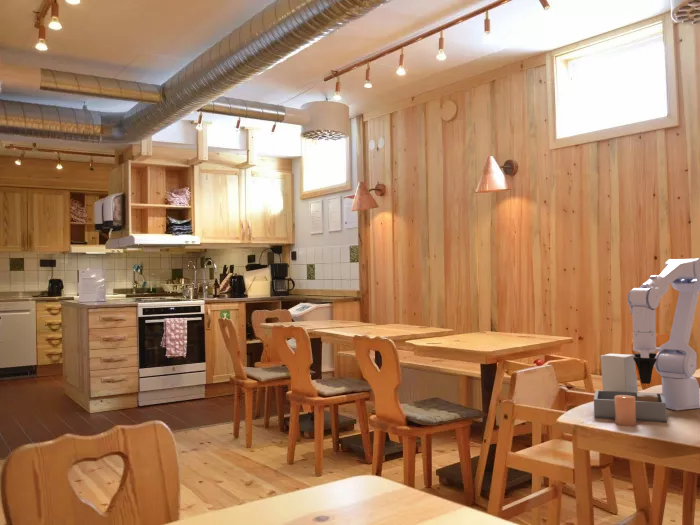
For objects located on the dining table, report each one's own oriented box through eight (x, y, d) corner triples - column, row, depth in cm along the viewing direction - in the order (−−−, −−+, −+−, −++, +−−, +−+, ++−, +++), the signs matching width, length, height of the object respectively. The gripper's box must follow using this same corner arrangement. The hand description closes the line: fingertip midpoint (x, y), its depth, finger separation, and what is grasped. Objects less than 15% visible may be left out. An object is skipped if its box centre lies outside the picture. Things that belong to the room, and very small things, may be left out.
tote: (663, 411, 175) (662, 393, 175) (666, 422, 163) (665, 403, 163) (596, 407, 182) (595, 390, 182) (594, 417, 170) (593, 399, 170)
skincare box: (639, 405, 184) (637, 354, 184) (627, 407, 181) (625, 356, 181) (613, 400, 191) (611, 352, 191) (601, 403, 188) (599, 354, 188)
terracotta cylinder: (626, 420, 166) (626, 394, 166) (640, 424, 161) (639, 397, 161) (611, 422, 164) (610, 395, 164) (624, 426, 159) (623, 399, 160)
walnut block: (637, 410, 174) (636, 392, 174) (657, 411, 172) (656, 393, 172) (638, 414, 169) (637, 396, 169) (658, 415, 167) (657, 397, 167)
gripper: (661, 334, 163) (662, 386, 162) (660, 329, 176) (661, 377, 175) (631, 333, 166) (633, 385, 165) (632, 329, 179) (634, 376, 178)
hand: (645, 381), depth 171 cm, fingers open, 7 cm apart
